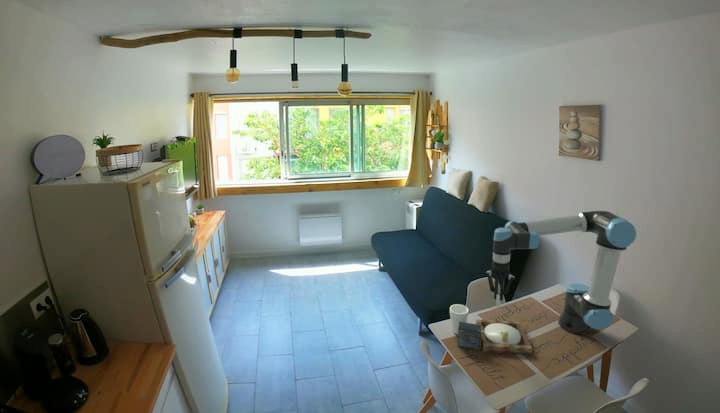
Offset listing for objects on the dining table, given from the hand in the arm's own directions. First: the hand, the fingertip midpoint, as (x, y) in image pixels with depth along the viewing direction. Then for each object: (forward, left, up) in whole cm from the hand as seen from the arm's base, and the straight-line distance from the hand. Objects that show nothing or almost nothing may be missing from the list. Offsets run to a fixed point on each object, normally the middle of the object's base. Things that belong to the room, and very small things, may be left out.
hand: (498, 305), depth 180 cm
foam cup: (+17, -7, -21) cm, 28 cm away
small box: (+13, +4, -21) cm, 25 cm away
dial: (-4, -2, -19) cm, 19 cm away
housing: (-4, -2, -20) cm, 21 cm away
